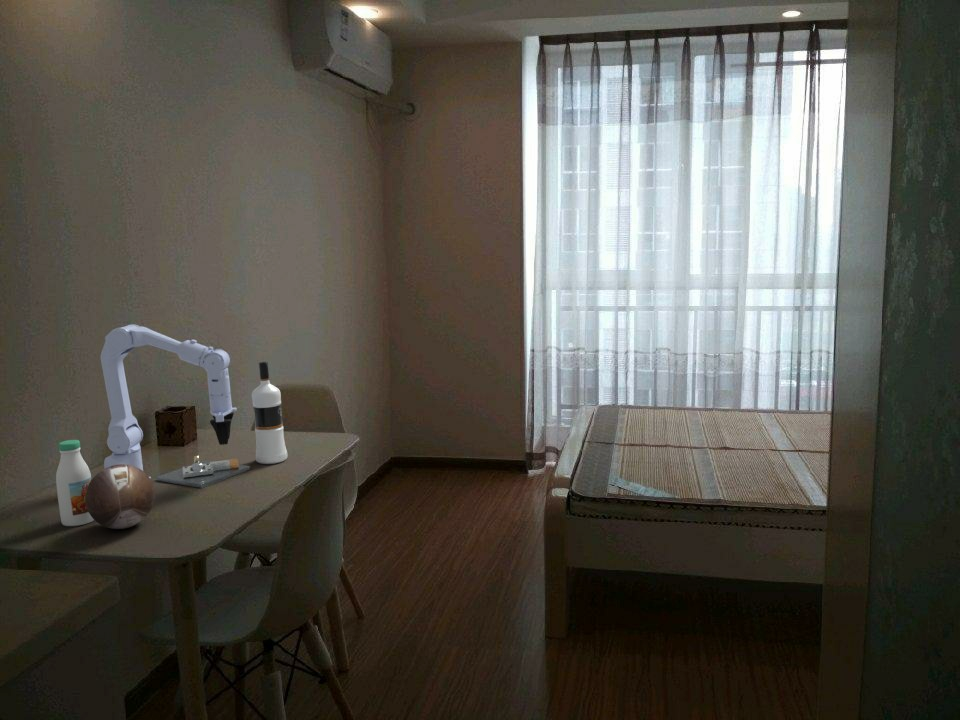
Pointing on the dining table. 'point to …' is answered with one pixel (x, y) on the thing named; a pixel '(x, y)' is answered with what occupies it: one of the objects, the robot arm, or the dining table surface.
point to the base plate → (200, 480)
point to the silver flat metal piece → (211, 467)
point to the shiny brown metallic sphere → (120, 496)
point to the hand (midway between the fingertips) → (224, 441)
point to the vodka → (268, 420)
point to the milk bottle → (72, 484)
